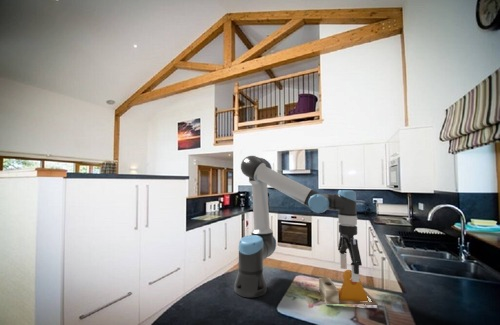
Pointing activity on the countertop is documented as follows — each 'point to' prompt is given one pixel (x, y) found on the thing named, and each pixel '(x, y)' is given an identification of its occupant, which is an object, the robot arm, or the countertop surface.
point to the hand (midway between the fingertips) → (349, 274)
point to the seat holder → (337, 293)
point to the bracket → (351, 289)
